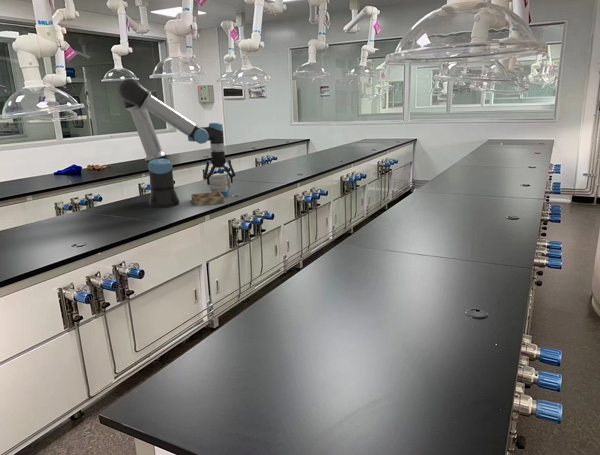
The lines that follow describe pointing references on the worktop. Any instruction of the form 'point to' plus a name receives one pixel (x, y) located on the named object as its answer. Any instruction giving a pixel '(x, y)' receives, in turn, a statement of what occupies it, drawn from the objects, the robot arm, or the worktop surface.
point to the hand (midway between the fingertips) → (220, 189)
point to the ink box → (220, 183)
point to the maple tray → (207, 198)
